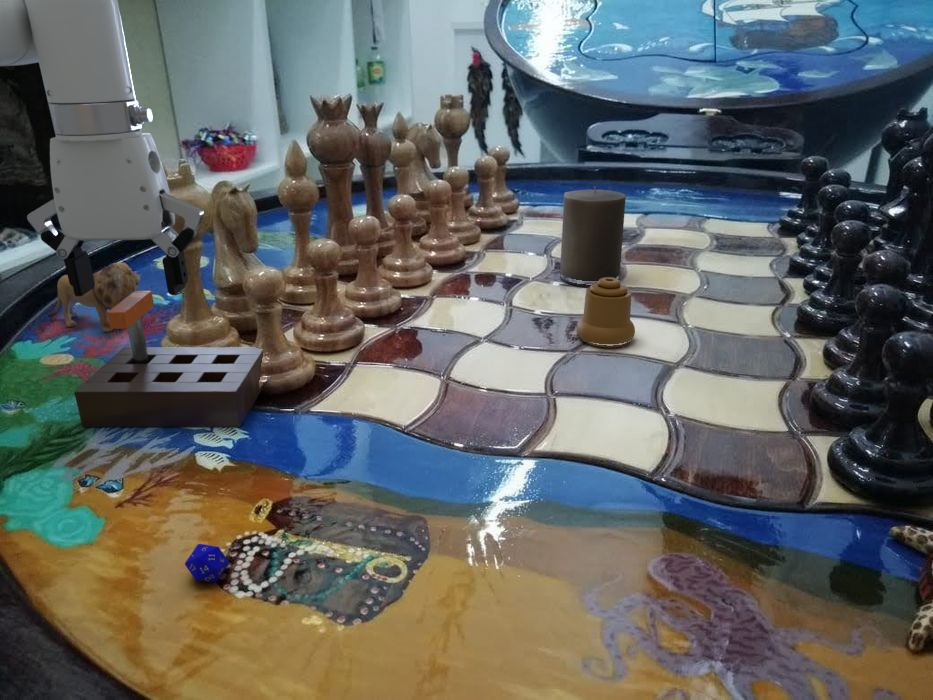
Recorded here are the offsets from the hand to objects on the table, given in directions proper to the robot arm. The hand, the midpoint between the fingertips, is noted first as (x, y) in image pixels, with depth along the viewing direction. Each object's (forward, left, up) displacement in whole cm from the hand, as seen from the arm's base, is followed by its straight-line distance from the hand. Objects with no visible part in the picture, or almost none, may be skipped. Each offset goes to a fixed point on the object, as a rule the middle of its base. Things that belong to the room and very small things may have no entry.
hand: (131, 291), depth 77 cm
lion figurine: (-15, +21, -12) cm, 29 cm away
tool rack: (+4, -2, -12) cm, 13 cm away
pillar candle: (+55, +42, -12) cm, 70 cm away
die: (+16, -30, -12) cm, 36 cm away
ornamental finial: (+53, +16, -12) cm, 57 cm away
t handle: (0, 0, -12) cm, 12 cm away
